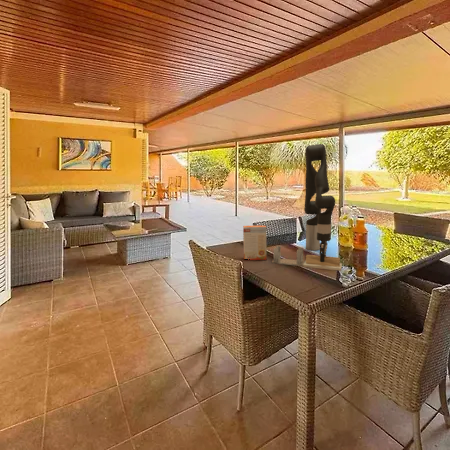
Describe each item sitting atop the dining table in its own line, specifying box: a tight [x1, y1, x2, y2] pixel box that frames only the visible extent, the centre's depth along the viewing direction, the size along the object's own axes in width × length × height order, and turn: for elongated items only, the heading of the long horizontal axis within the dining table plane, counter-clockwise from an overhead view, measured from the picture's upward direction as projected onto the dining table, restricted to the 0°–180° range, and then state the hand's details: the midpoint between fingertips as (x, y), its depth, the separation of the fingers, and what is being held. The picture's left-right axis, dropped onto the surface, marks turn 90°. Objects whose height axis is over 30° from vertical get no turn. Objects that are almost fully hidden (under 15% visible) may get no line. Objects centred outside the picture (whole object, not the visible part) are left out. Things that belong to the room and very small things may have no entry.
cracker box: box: [242, 225, 267, 261], centre depth 185 cm, size 14×6×21 cm, turn 86°
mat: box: [302, 260, 343, 271], centre depth 170 cm, size 10×20×1 cm, turn 66°
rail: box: [305, 254, 341, 267], centre depth 170 cm, size 4×18×4 cm, turn 66°
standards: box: [271, 245, 306, 267], centre depth 177 cm, size 8×18×9 cm, turn 66°
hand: (323, 259), depth 170 cm, fingers open, 8 cm apart
